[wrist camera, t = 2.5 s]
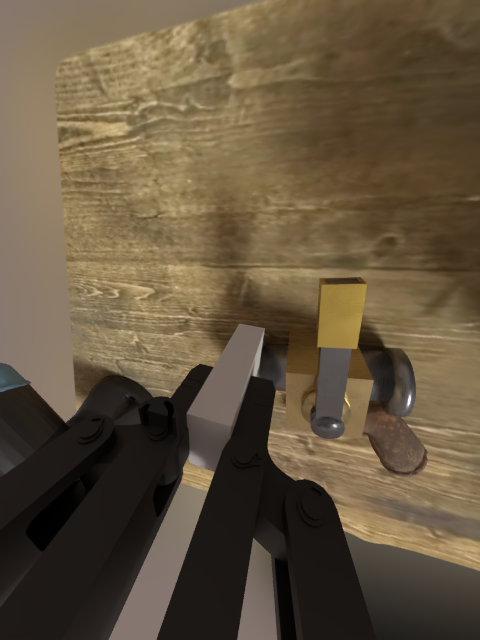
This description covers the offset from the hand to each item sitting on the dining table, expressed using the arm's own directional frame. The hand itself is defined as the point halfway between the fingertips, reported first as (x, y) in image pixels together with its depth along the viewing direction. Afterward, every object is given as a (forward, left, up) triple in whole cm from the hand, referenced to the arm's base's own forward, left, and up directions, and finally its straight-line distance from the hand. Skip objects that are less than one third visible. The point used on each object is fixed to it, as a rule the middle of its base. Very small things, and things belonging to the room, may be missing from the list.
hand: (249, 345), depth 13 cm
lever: (+6, -5, -6) cm, 10 cm away
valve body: (+6, -12, -16) cm, 21 cm away
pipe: (+11, -23, -17) cm, 30 cm away
